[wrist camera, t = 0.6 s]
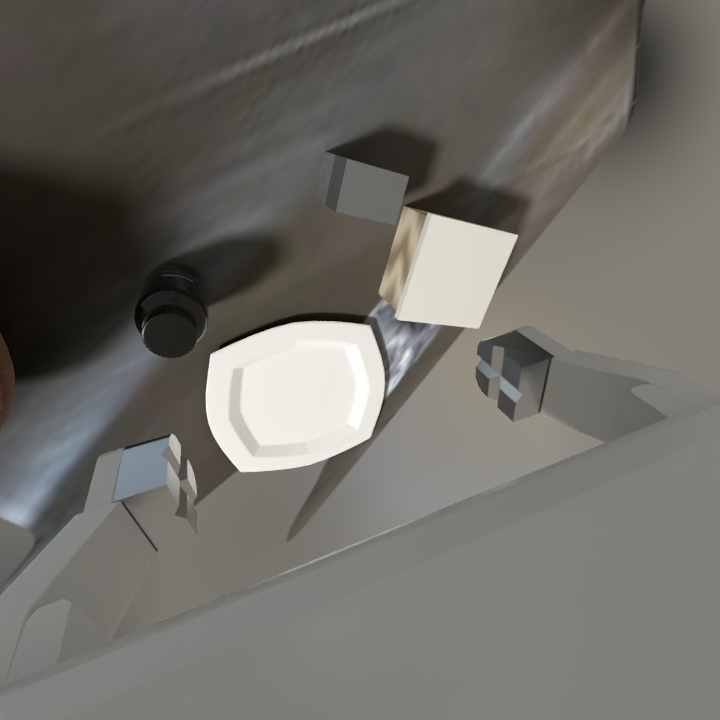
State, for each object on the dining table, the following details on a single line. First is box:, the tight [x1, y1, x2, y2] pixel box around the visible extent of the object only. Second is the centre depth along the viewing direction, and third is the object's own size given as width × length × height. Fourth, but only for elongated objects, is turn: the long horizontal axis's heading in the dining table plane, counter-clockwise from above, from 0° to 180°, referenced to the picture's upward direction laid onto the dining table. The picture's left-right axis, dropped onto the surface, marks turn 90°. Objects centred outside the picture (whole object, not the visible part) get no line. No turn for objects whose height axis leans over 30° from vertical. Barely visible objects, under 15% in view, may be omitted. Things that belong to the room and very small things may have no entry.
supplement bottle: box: [134, 264, 208, 358], centre depth 42 cm, size 7×7×12 cm
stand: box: [379, 206, 518, 328], centre depth 53 cm, size 13×13×8 cm
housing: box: [316, 152, 409, 225], centre depth 44 cm, size 5×7×8 cm
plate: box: [206, 321, 385, 472], centre depth 60 cm, size 27×27×2 cm
